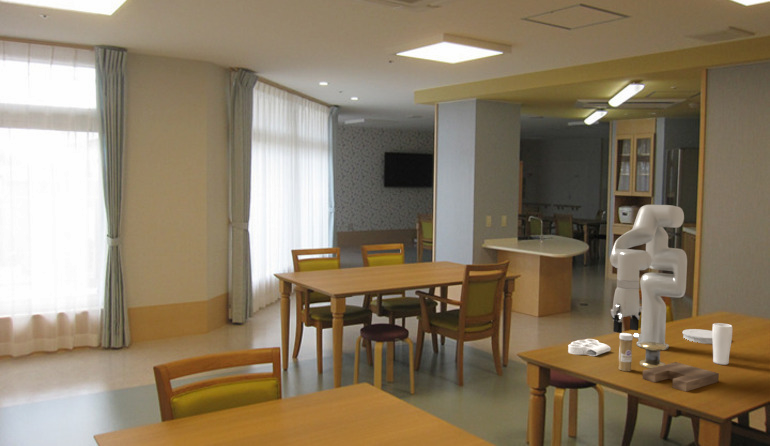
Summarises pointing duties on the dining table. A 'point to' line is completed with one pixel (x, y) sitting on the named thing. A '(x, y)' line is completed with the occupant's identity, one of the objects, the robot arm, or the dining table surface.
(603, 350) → the knuckle duster
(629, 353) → the sprinkles bottle
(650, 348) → the bobbin
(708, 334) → the lid
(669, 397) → the dining table surface
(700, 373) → the notched board
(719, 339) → the drinking glass
